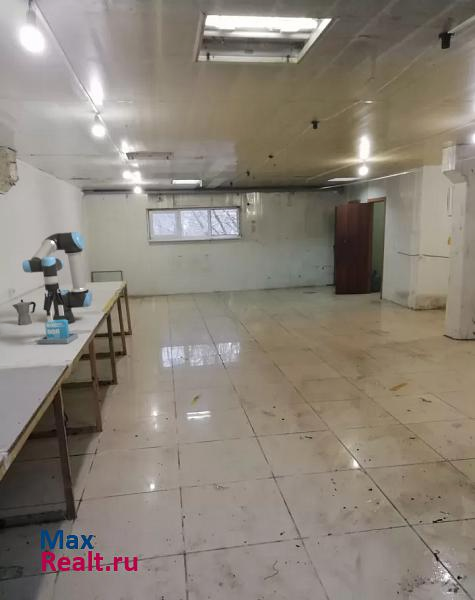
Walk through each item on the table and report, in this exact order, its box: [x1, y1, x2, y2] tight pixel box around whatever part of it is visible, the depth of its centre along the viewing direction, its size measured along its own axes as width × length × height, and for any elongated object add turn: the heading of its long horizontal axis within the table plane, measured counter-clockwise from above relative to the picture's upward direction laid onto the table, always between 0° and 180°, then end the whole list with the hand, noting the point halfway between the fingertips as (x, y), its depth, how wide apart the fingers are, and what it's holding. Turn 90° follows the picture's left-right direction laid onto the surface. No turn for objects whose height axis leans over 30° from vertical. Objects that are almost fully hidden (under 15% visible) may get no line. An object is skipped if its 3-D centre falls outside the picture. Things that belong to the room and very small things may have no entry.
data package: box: [44, 319, 70, 339], centre depth 255 cm, size 12×4×12 cm, turn 98°
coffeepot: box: [11, 299, 37, 326], centre depth 308 cm, size 15×9×18 cm, turn 121°
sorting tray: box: [37, 332, 79, 346], centre depth 256 cm, size 14×18×3 cm
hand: (56, 318), depth 254 cm, fingers open, 13 cm apart
